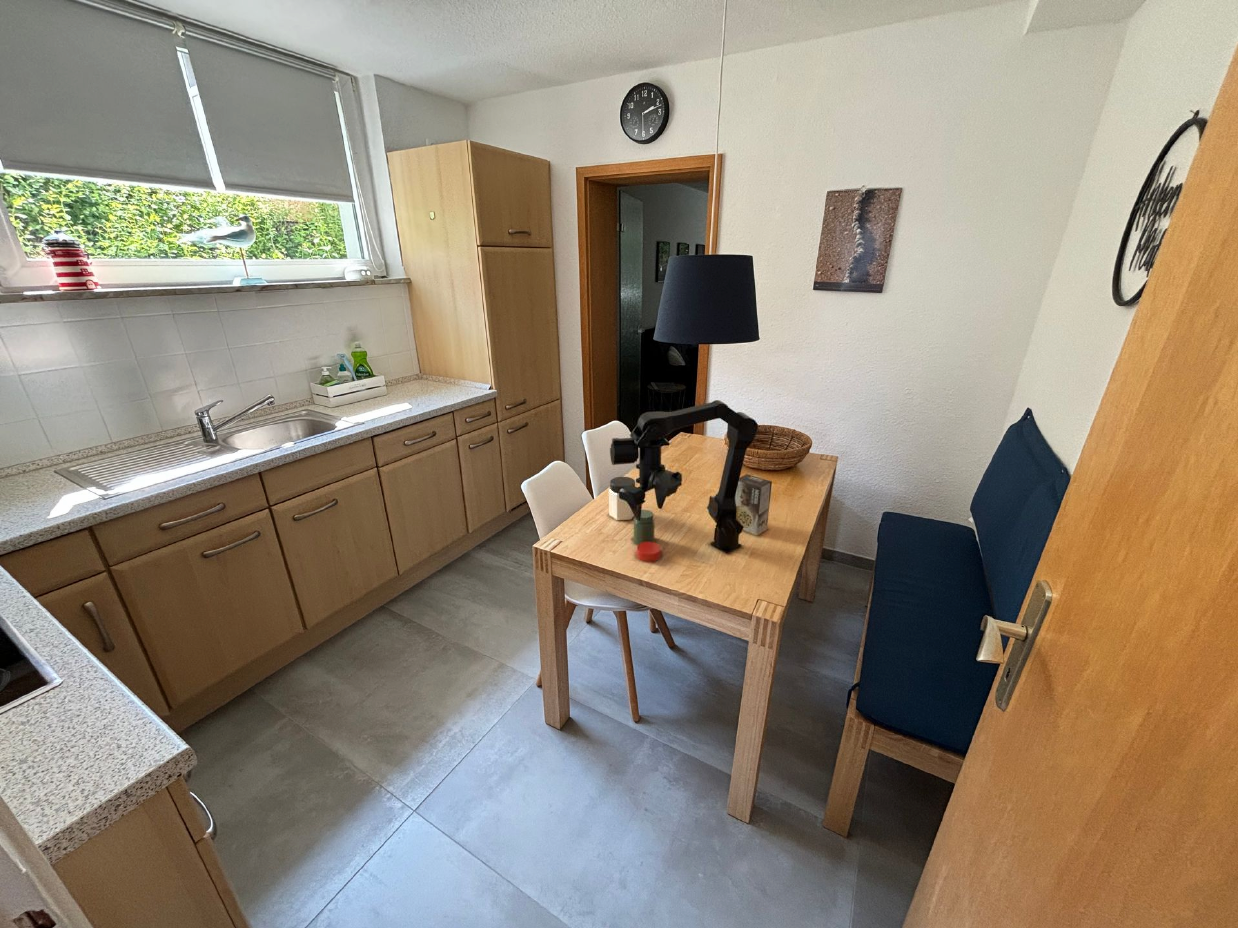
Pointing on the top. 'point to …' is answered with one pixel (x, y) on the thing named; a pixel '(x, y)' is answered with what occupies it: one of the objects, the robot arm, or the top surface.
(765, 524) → the coffee box
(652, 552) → the lid
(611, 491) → the jar
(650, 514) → the green jar
